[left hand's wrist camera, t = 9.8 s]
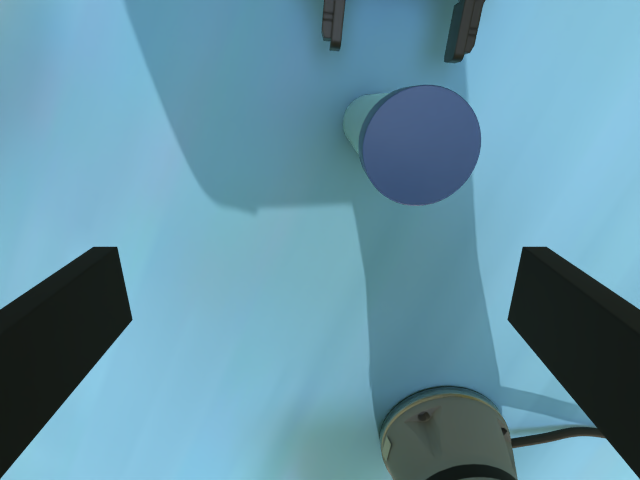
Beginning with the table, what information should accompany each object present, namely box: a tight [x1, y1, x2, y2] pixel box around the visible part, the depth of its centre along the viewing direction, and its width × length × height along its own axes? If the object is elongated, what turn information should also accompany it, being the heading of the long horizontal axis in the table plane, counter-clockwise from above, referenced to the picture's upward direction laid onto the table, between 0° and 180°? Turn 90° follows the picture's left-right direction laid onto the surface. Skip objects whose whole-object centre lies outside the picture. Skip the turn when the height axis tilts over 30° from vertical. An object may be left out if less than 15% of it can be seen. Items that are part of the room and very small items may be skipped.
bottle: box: [343, 93, 390, 155], centre depth 25 cm, size 5×5×18 cm
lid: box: [358, 85, 481, 206], centre depth 17 cm, size 5×5×2 cm
